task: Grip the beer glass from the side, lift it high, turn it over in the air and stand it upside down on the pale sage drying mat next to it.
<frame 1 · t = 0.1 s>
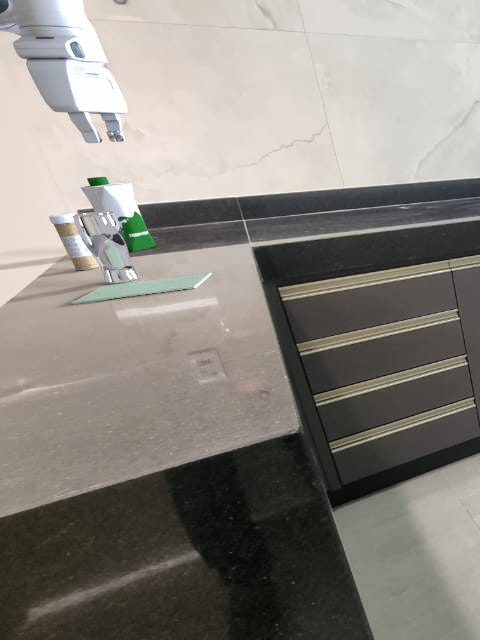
hand: (107, 142, 92), 29 cm above the counter, tool pointing down, fingers open, 8 cm apart
drying mat: (147, 288, 114), on the counter
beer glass: (124, 281, 121), on the counter
sprinkles bottle: (88, 269, 133), on the counter
milk carton: (135, 249, 154), on the counter
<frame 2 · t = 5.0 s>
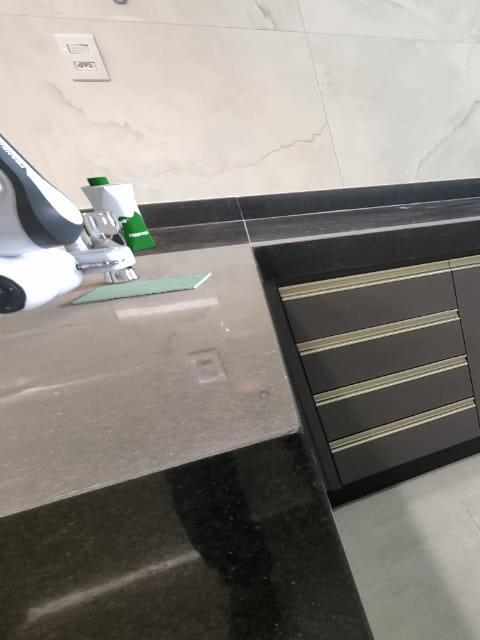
hand: (81, 256, 107), 8 cm above the counter, tool horizontal, fingers open, 8 cm apart
nothing on the counter moved.
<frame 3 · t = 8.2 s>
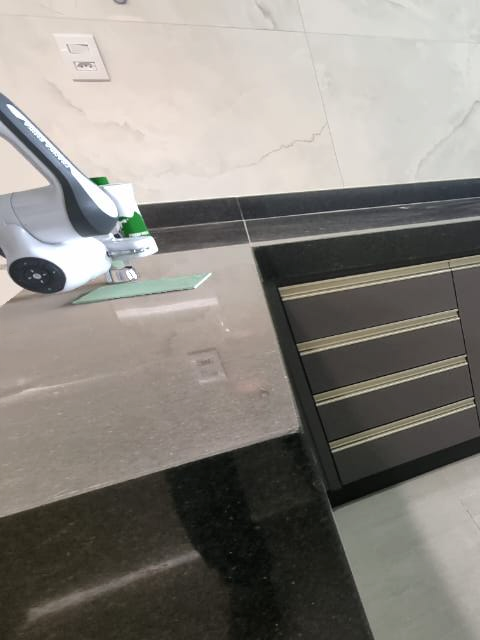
hand: (109, 244, 118), 8 cm above the counter, tool horizontal, fingers closed on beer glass, 6 cm apart
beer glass: (124, 281, 121), on the counter, touching gripper
everything else where it was.
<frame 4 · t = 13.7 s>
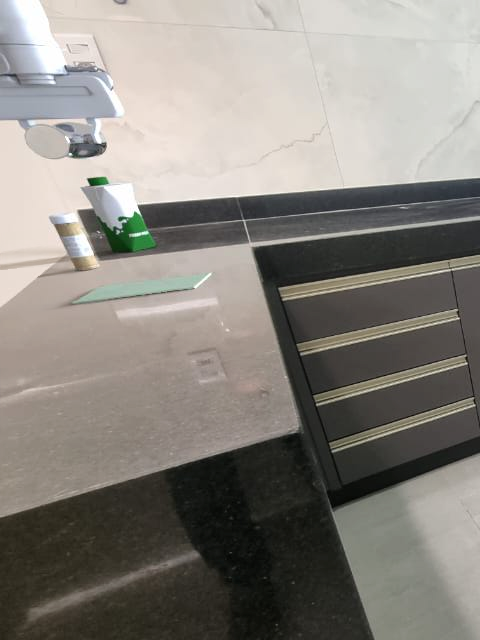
hand: (70, 144, 105), 29 cm above the counter, tool pointing down, fingers closed on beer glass, 6 cm apart
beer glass: (46, 141, 98), point 29 cm above the counter, touching gripper
everything else where it was.
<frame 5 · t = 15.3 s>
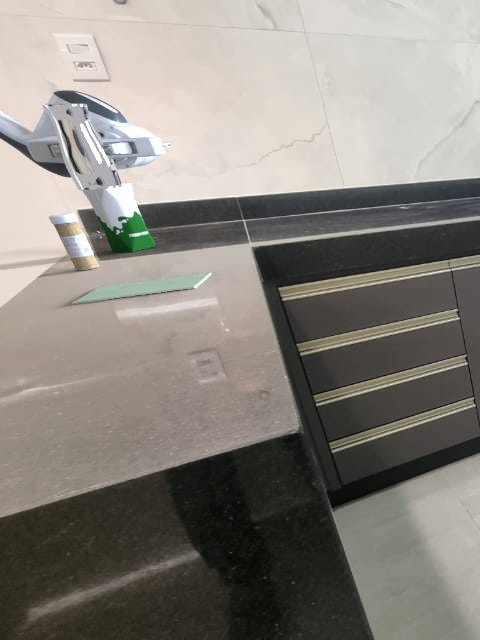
hand: (82, 150, 101), 28 cm above the counter, tool horizontal, fingers closed on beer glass, 6 cm apart
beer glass: (63, 102, 98), point 36 cm above the counter, touching gripper
everything else where it was.
when the fingers open (7 cm above the counter, at t = 21.2 s): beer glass stays where it is, resting on drying mat.
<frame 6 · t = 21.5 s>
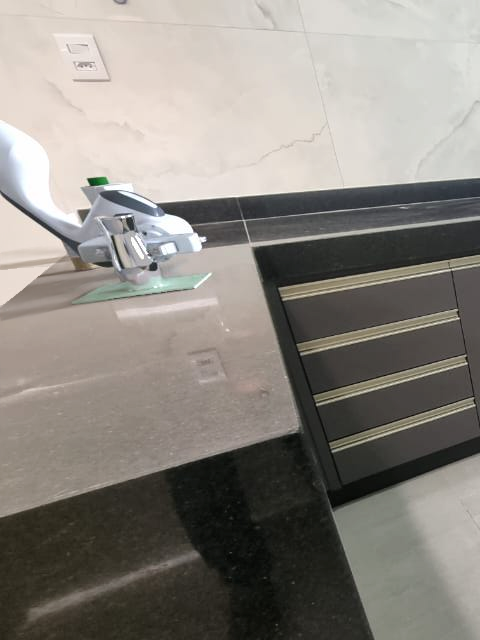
hand: (129, 254, 109), 8 cm above the counter, tool horizontal, fingers open, 8 cm apart
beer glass: (113, 214, 107), point 16 cm above the counter, touching drying mat
everything else where it was.
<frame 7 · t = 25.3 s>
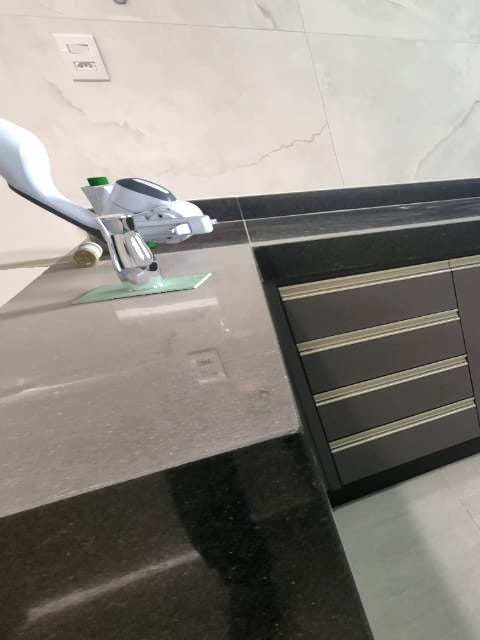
hand: (148, 234, 119), 10 cm above the counter, tool horizontal, fingers open, 8 cm apart
sprinkles bottle: (84, 258, 134), point 2 cm above the counter
everything else where it was.
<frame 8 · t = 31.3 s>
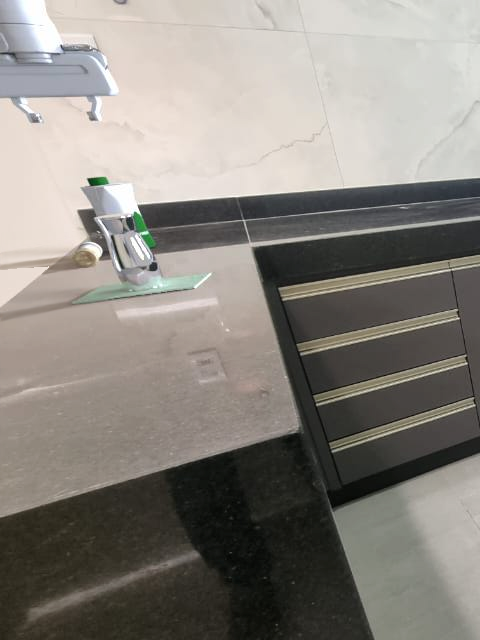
hand: (67, 121, 109), 33 cm above the counter, tool pointing down, fingers open, 8 cm apart
nothing on the counter moved.
at the end: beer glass tilted 180°; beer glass inside the target area on the drying mat (0.3 cm from its centre), point 15.6 cm above the drying mat's base; the gripper is holding nothing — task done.
